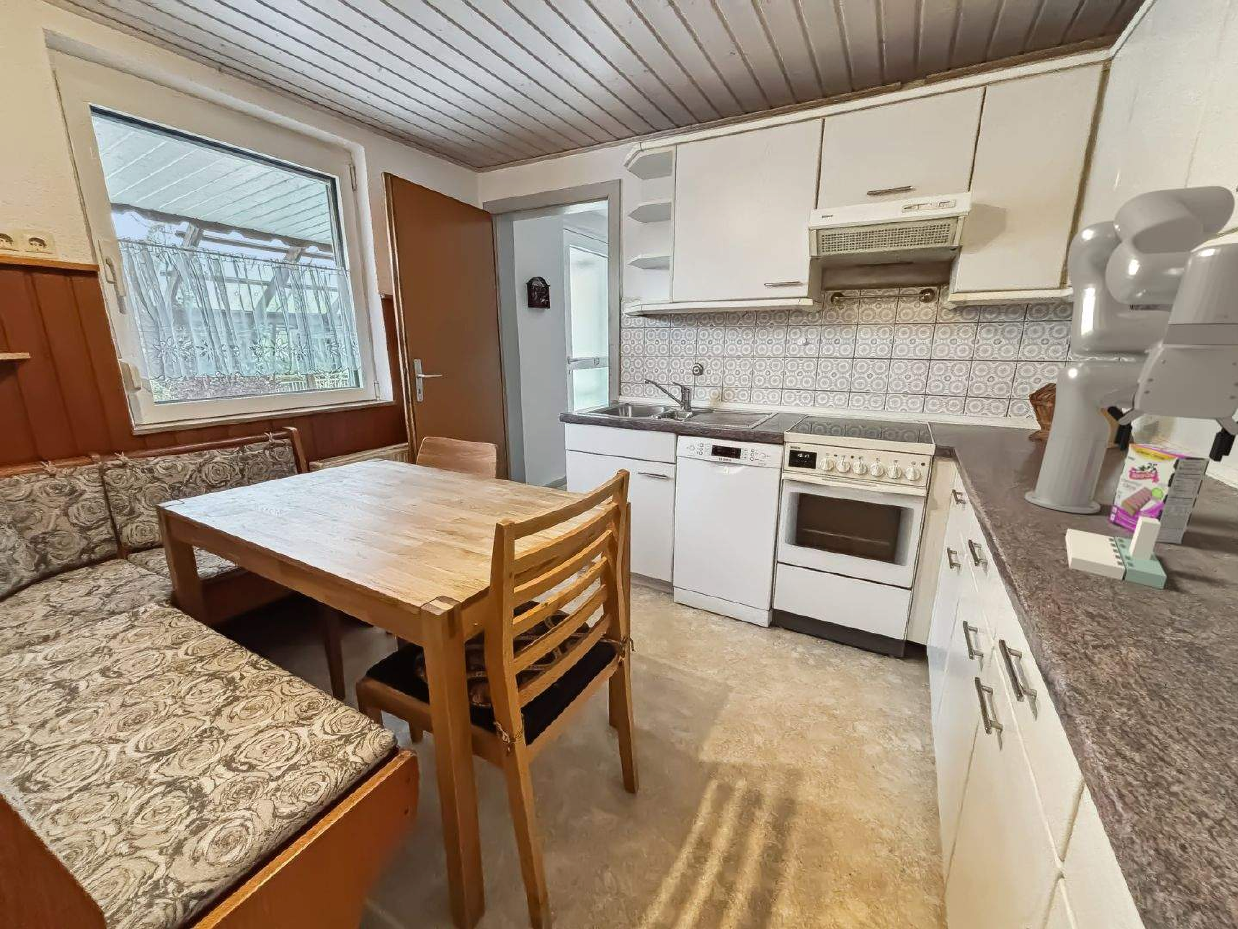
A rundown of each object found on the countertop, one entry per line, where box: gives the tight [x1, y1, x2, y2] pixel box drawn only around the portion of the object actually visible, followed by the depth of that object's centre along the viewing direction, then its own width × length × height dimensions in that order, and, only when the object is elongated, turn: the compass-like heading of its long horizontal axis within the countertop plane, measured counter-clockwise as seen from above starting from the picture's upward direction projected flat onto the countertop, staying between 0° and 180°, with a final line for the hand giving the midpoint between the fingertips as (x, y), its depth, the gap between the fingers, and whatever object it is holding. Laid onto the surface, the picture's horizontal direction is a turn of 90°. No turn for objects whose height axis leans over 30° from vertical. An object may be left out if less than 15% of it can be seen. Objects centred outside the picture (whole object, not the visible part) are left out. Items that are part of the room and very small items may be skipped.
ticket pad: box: [1065, 528, 1125, 581], centre depth 82 cm, size 16×6×2 cm, turn 140°
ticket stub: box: [1114, 516, 1167, 590], centre depth 78 cm, size 16×4×8 cm, turn 140°
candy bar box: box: [1107, 442, 1211, 545], centre depth 91 cm, size 11×5×16 cm, turn 168°
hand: (1165, 454), depth 74 cm, fingers open, 9 cm apart
